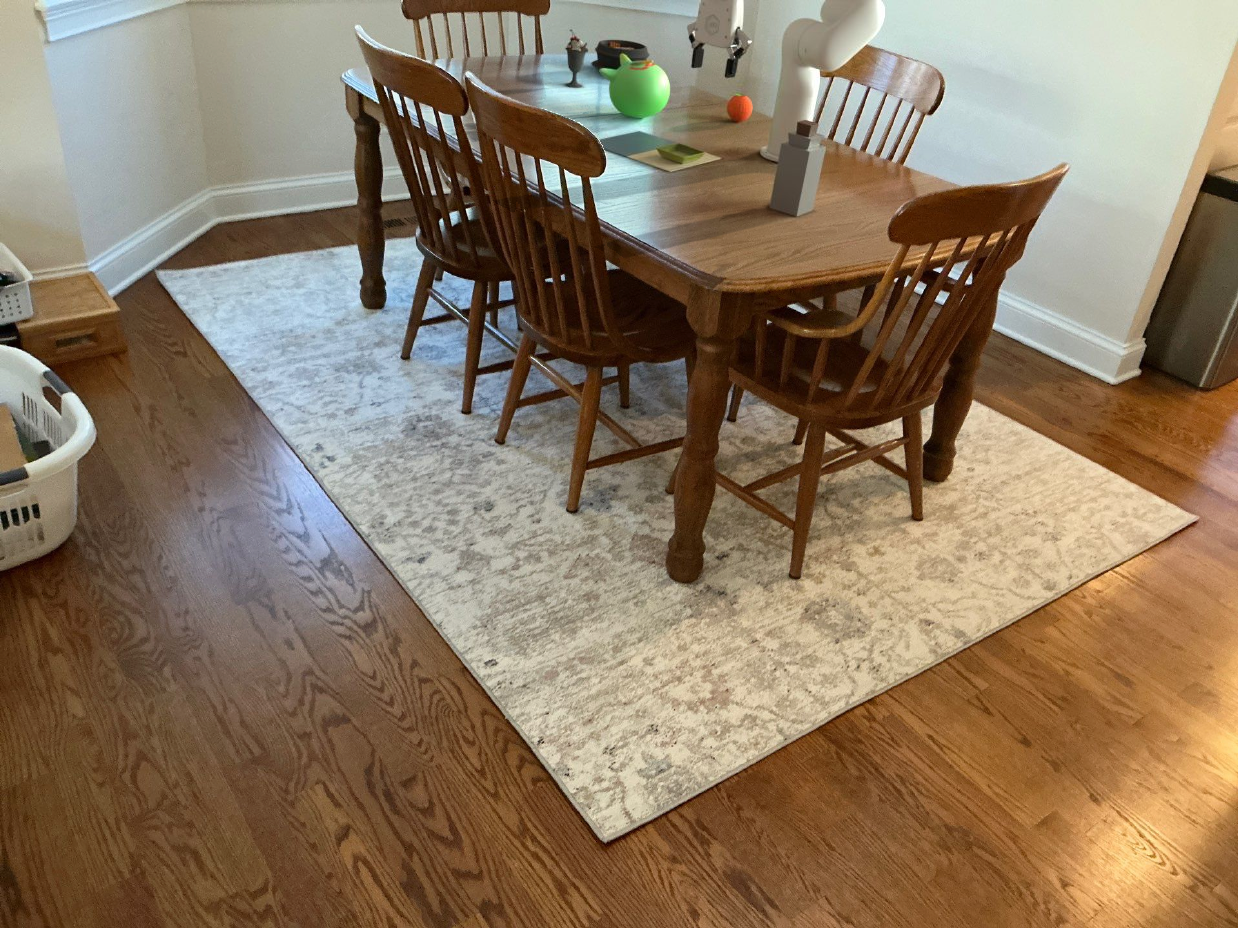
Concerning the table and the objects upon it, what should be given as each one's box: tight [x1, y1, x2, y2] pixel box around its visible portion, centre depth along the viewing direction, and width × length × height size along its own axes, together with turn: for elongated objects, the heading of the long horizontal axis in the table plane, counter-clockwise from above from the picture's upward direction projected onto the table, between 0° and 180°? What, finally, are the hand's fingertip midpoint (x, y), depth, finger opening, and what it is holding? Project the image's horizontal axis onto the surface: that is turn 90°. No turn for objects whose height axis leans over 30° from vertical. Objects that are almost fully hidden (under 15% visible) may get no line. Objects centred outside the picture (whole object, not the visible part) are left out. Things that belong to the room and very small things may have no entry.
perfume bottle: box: [768, 120, 827, 217], centre depth 204 cm, size 7×7×18 cm
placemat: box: [598, 130, 722, 173], centre depth 236 cm, size 26×20×1 cm
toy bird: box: [598, 54, 671, 119], centre depth 259 cm, size 18×17×15 cm
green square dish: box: [656, 142, 707, 164], centre depth 232 cm, size 9×9×2 cm
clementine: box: [724, 93, 753, 123], centre depth 267 cm, size 8×7×7 cm
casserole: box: [590, 39, 650, 71], centre depth 304 cm, size 25×19×8 cm
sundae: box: [564, 29, 589, 89], centre depth 282 cm, size 7×7×15 cm
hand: (712, 72), depth 222 cm, fingers open, 9 cm apart
